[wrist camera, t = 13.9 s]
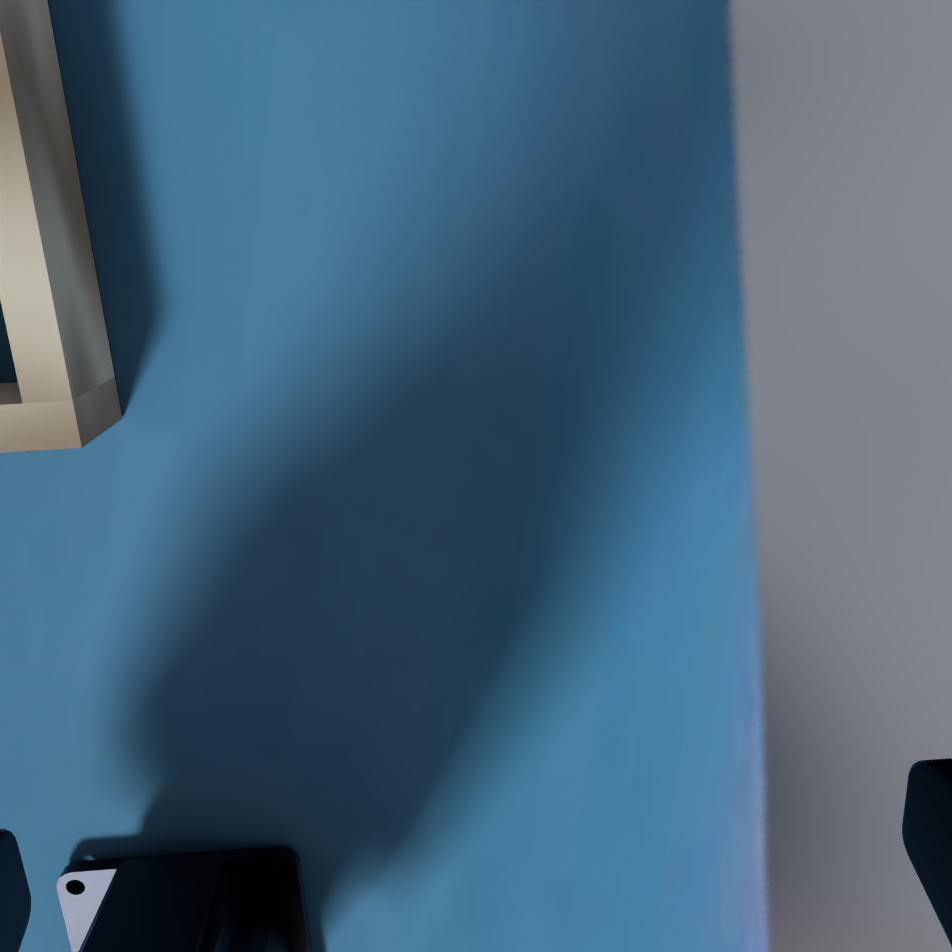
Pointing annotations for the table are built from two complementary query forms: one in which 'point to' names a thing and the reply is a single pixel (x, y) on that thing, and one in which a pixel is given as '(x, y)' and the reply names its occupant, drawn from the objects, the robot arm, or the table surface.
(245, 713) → the table surface
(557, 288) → the table surface
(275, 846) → the robot arm
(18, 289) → the birch frame
